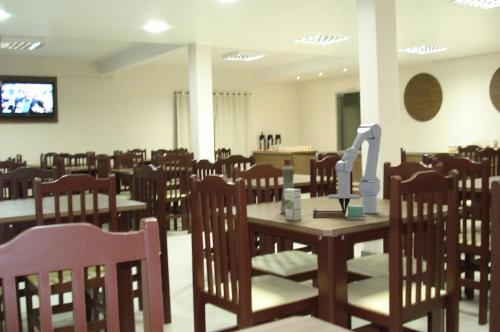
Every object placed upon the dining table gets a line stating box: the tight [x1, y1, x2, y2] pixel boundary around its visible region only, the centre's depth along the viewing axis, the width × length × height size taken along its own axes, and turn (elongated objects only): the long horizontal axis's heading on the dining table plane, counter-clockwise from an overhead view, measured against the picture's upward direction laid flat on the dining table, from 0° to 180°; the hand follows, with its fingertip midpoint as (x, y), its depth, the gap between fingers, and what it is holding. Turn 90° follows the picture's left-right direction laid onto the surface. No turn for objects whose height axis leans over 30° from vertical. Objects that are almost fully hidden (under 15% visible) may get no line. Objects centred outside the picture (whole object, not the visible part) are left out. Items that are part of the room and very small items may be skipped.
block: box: [347, 204, 364, 217], centre depth 257 cm, size 4×7×5 cm, turn 80°
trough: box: [312, 207, 346, 219], centre depth 259 cm, size 8×15×4 cm, turn 80°
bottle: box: [280, 157, 295, 215], centre depth 273 cm, size 9×9×28 cm
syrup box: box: [284, 188, 302, 222], centre depth 251 cm, size 6×6×14 cm
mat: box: [345, 216, 365, 222], centre depth 249 cm, size 8×8×1 cm
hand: (344, 214), depth 258 cm, fingers closed
